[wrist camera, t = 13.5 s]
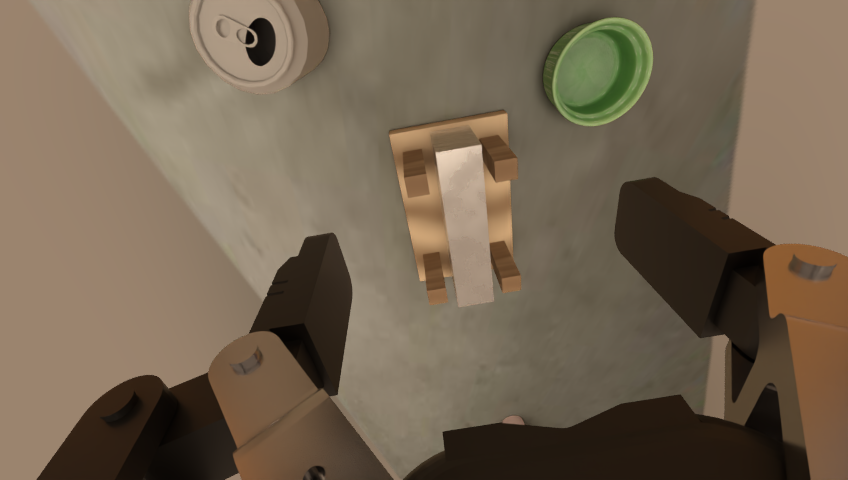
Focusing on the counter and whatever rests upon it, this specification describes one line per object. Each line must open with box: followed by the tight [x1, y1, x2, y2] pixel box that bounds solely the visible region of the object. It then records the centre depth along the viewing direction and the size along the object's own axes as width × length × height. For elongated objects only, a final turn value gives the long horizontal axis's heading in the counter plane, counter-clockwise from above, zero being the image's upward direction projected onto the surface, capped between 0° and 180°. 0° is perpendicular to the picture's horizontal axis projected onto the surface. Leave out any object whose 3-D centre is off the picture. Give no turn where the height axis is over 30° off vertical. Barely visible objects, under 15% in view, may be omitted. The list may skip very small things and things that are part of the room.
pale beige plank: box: [430, 125, 494, 307], centre depth 39 cm, size 18×4×6 cm, turn 9°
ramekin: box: [543, 17, 653, 126], centre depth 35 cm, size 9×9×4 cm
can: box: [189, 0, 330, 94], centre depth 28 cm, size 8×8×12 cm
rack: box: [389, 110, 521, 305], centre depth 40 cm, size 19×12×8 cm, turn 9°
